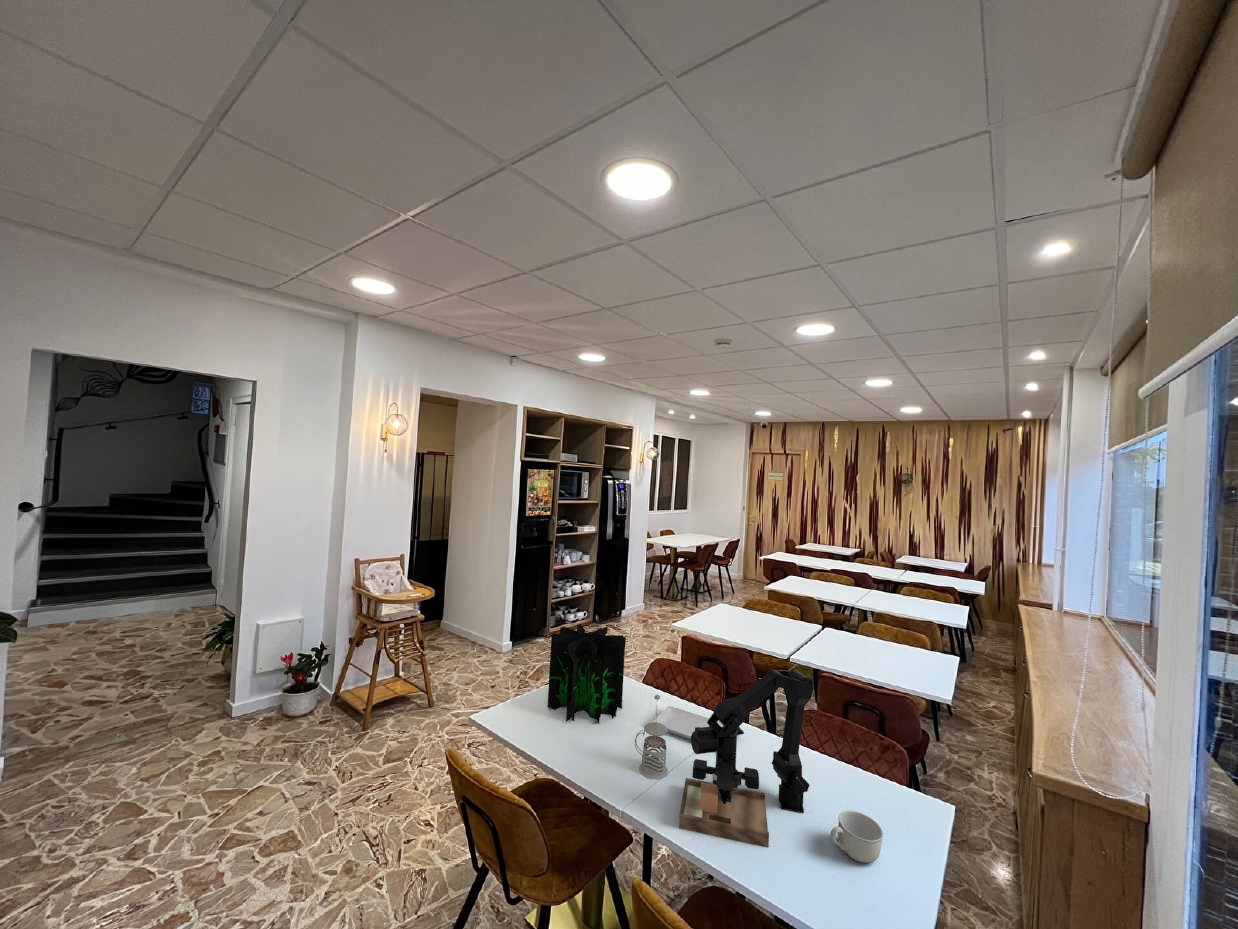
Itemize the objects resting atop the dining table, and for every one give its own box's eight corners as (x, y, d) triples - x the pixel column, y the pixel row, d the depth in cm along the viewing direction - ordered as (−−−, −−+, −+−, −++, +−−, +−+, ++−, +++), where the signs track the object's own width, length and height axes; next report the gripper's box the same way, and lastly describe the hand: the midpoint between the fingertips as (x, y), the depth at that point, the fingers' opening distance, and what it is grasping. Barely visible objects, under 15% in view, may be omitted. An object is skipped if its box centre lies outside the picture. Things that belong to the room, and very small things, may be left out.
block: (717, 802, 147) (718, 785, 147) (717, 813, 142) (718, 796, 142) (700, 799, 148) (701, 782, 148) (699, 810, 143) (700, 792, 143)
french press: (666, 782, 159) (670, 703, 159) (631, 775, 161) (635, 698, 161) (669, 764, 168) (673, 690, 169) (636, 759, 171) (639, 686, 171)
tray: (729, 758, 174) (729, 749, 174) (649, 730, 191) (650, 721, 191) (743, 738, 189) (743, 729, 189) (668, 713, 205) (669, 705, 205)
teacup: (867, 839, 138) (869, 810, 138) (890, 871, 127) (891, 839, 127) (818, 838, 137) (819, 809, 137) (837, 869, 126) (838, 838, 126)
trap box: (764, 804, 150) (765, 793, 150) (768, 847, 133) (769, 834, 133) (685, 789, 156) (685, 777, 156) (678, 828, 138) (679, 815, 138)
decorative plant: (579, 732, 186) (583, 652, 186) (535, 702, 208) (539, 631, 208) (633, 710, 205) (637, 638, 206) (588, 685, 227) (592, 620, 228)
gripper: (692, 758, 139) (689, 815, 138) (761, 770, 134) (759, 828, 134) (694, 738, 149) (692, 791, 149) (758, 748, 145) (756, 802, 145)
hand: (724, 803), depth 144 cm, fingers closed
